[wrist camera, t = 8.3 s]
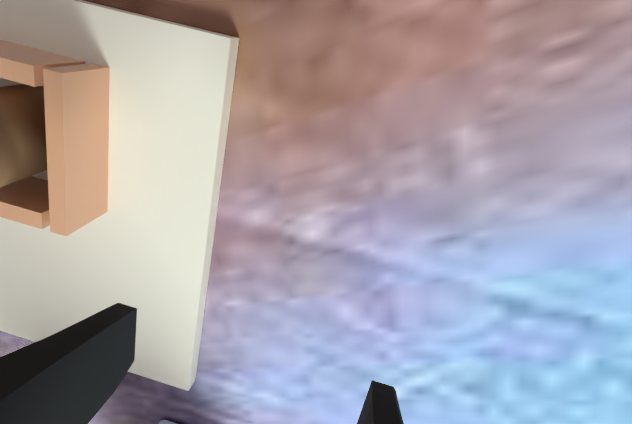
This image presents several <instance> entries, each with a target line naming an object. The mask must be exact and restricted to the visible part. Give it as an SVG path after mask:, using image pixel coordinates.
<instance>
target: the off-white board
mask: <svg viewBox="0 0 632 424" xmlns="http://www.w3.org/2000/svg"><path fill="white" fill-rule="evenodd" d="M0 40H4V41H8V42H11V43H15V44H19V45H23V46H27V47H31V48H35V49H39V50H43V51H47V52H51V53H55V54H59V55H63V56H67V57H71V58H74V59H78V60H82V61H85V64H91V63H94V64H98V65H102V66H106V67H110V81H109V147H108V212H106V213H104V214H103V215H101V216H99V217H98V218H96V219H94V220H93V221H91V222H89V223H88V224H86V225H84V226H83V227H81V228H79V229H78V230H76V231H74V232H73V233H71V234H69V235H68V236H63V235H60V234H57V233H53V232H50V225H49V226H47V227H45V228H44V229H40V228H36V227H33V226H29V225H26V224H23V223H19V222H16V221H12V220H9V219H6V218H2V217H0V331H3V332H6V333H9V334H12V335H15V336H18V337H21V338H25V339H28V340H31V341H34V342H37V341H40V340H42V339H44V338H47V337H49V336H51V335H53V334H55V333H57V332H59V331H61V330H63V329H65V328H67V327H70V326H72V325H74V324H76V323H78V322H80V321H82V320H84V319H86V318H88V317H90V316H92V315H94V314H96V313H98V312H100V311H102V310H104V309H106V308H108V307H110V306H112V305H114V304H117V303H121V304H124V305H127V306H131V307H134V308H137V319H136V339H135V358H134V362H133V364H132V365H131V367H130V368H129V370H128V371H127V372H130V373H133V374H137V375H140V376H143V377H146V378H149V379H152V380H155V381H158V382H161V383H165V384H168V385H171V386H174V387H177V388H180V389H183V390H186V391H189V389H190V388H191V386H192V384H193V383H194V381H195V379H196V373H197V365H198V357H199V349H200V342H201V334H202V326H203V318H204V310H205V303H206V295H207V287H208V279H209V271H210V264H211V256H212V248H213V240H214V232H215V225H216V217H217V209H218V201H219V193H220V186H221V178H222V170H223V162H224V154H225V147H226V139H227V131H228V123H229V115H230V107H231V100H232V92H233V84H234V76H235V68H236V61H237V53H238V45H239V38H237V37H233V36H229V35H225V34H221V33H217V32H212V31H208V30H204V29H200V28H196V27H192V26H187V25H183V24H179V23H175V22H171V21H167V20H162V19H158V18H154V17H150V16H146V15H142V14H137V13H133V12H129V11H125V10H121V9H117V8H112V7H108V6H104V5H100V4H96V3H92V2H87V1H83V0H0ZM19 84H22V83H18V82H14V81H11V80H7V79H3V78H0V87H4V86H11V85H19ZM32 176H34V177H37V178H41V179H44V180H48V172H47V170H45V171H42V172H40V173H37V174H35V175H32Z"/></svg>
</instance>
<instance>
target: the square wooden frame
mask: <svg viewBox="0 0 632 424" xmlns="http://www.w3.org/2000/svg"><path fill="white" fill-rule="evenodd" d="M0 78H3V79H7V80H11V81H14V82H18V83H22V84H26V85H30V86H33V87H37V86H44V105H45V127H46V149H47V172H48V180H44V179H41V178H37V177H34V176H29V177H27V178H24V179H21V180H19V181H16V182H14V183H11V184H8V185H6V186H3V187H1V188H0V217H2V218H6V219H9V220H12V221H16V222H19V223H23V224H26V225H29V226H33V227H36V228H40V229H44V228H45V227H47V226H49V225H50V232H53V233H57V234H60V235H63V236H68V235H69V234H71V233H73V232H74V231H76V230H78V229H79V228H81V227H83V226H84V225H86V224H88V223H89V222H91V221H93V220H94V219H96V218H98V217H99V216H101V215H103V214H104V213H106V212H108V147H109V81H110V67H106V66H102V65H98V64H94V63H91V64H85V61H82V60H78V59H74V58H71V57H67V56H63V55H59V54H55V53H51V52H47V51H43V50H39V49H35V48H31V47H27V46H23V45H19V44H15V43H11V42H8V41H4V40H0Z"/></svg>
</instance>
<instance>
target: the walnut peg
mask: <svg viewBox="0 0 632 424" xmlns="http://www.w3.org/2000/svg"><path fill="white" fill-rule="evenodd" d="M45 170H47V149H46V127H45V105H44V86H37V87H33V86H30V85H26V84H19V85H11V86H4V87H0V188H1V187H3V186H6V185H8V184H11V183H14V182H16V181H19V180H21V179H24V178H27V177H29V176H32V175H35V174H37V173H40V172H42V171H45Z"/></svg>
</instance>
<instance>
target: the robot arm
mask: <svg viewBox="0 0 632 424" xmlns="http://www.w3.org/2000/svg"><path fill="white" fill-rule="evenodd" d="M136 319H137V308H134V307H131V306H127V305H124V304H121V303H117V304H114V305H112V306H110V307H108V308H106V309H104V310H102V311H100V312H98V313H96V314H94V315H92V316H90V317H88V318H86V319H84V320H82V321H80V322H78V323H76V324H74V325H72V326H70V327H67V328H65V329H63V330H61V331H59V332H57V333H55V334H53V335H51V336H49V337H47V338H44V339H42V340H40V341H37V342H35V343H33V344H30V345H28V346H26V347H24V348H21V349H19V350H17V351H14V352H12V353H10V354H7V355H5V356H2V357H0V424H88V423H89V421H90V420H91V419H92V418H93V417H94V415H95V414H96V413H97V412H98V411H99V409H100V408H101V407H102V406H103V405H104V403H105V402H106V401H107V400H108V399H109V397H110V396H111V395H112V394H113V392H114V391H115V390H116V388H117V387H118V385H119V384H120V382H121V381H122V379H123V378H124V376H125V375H126V373H127V371H128V370H129V368H130V367H131V365H132V364H133V362H134V358H135V339H136ZM158 424H177V423H174V422H171V421H168V420H161V421H160V422H159V423H158ZM357 424H403V420H402V416H401V413H400V408H399V404H398V400H397V395H396V391H395V389H394V387H392V386H388V385H385V384H382V383H379V382H375V381H372V382H371V385H370V388H369V391H368V394H367V397H366V400H365V402H364V405H363V408H362V411H361V414H360V417H359V420H358V422H357Z"/></svg>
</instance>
